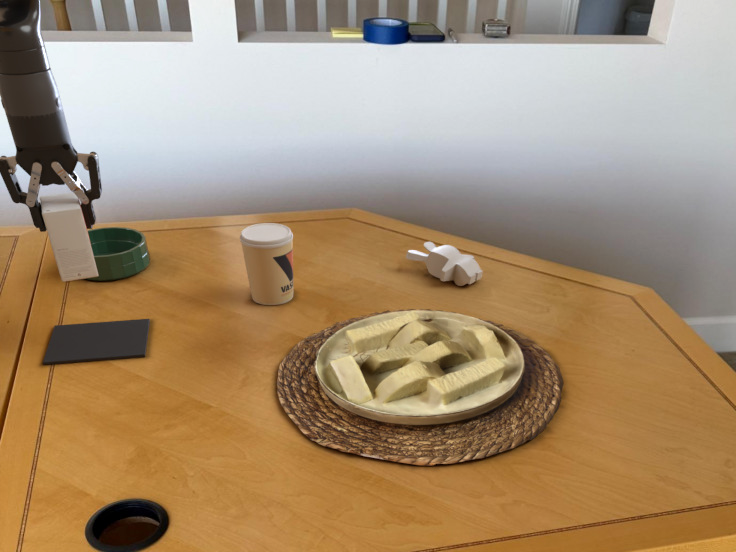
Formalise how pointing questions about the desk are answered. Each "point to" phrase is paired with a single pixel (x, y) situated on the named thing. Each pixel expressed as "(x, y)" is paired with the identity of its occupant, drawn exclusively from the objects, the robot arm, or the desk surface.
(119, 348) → the mat
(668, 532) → the desk surface
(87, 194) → the robot arm
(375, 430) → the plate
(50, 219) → the small box
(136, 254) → the bowl
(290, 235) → the coffee cup
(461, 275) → the bunny figurine
